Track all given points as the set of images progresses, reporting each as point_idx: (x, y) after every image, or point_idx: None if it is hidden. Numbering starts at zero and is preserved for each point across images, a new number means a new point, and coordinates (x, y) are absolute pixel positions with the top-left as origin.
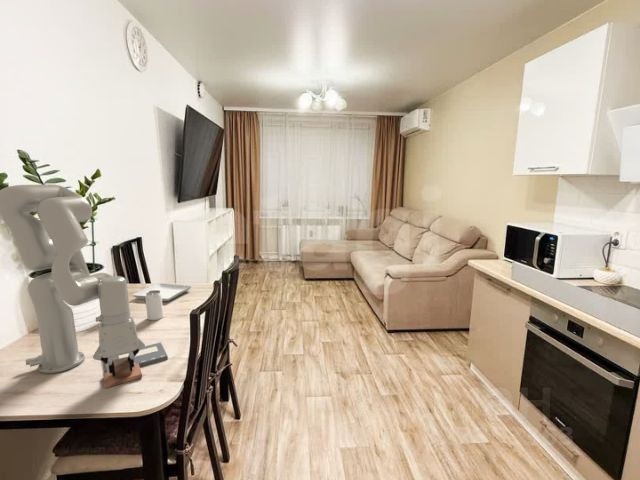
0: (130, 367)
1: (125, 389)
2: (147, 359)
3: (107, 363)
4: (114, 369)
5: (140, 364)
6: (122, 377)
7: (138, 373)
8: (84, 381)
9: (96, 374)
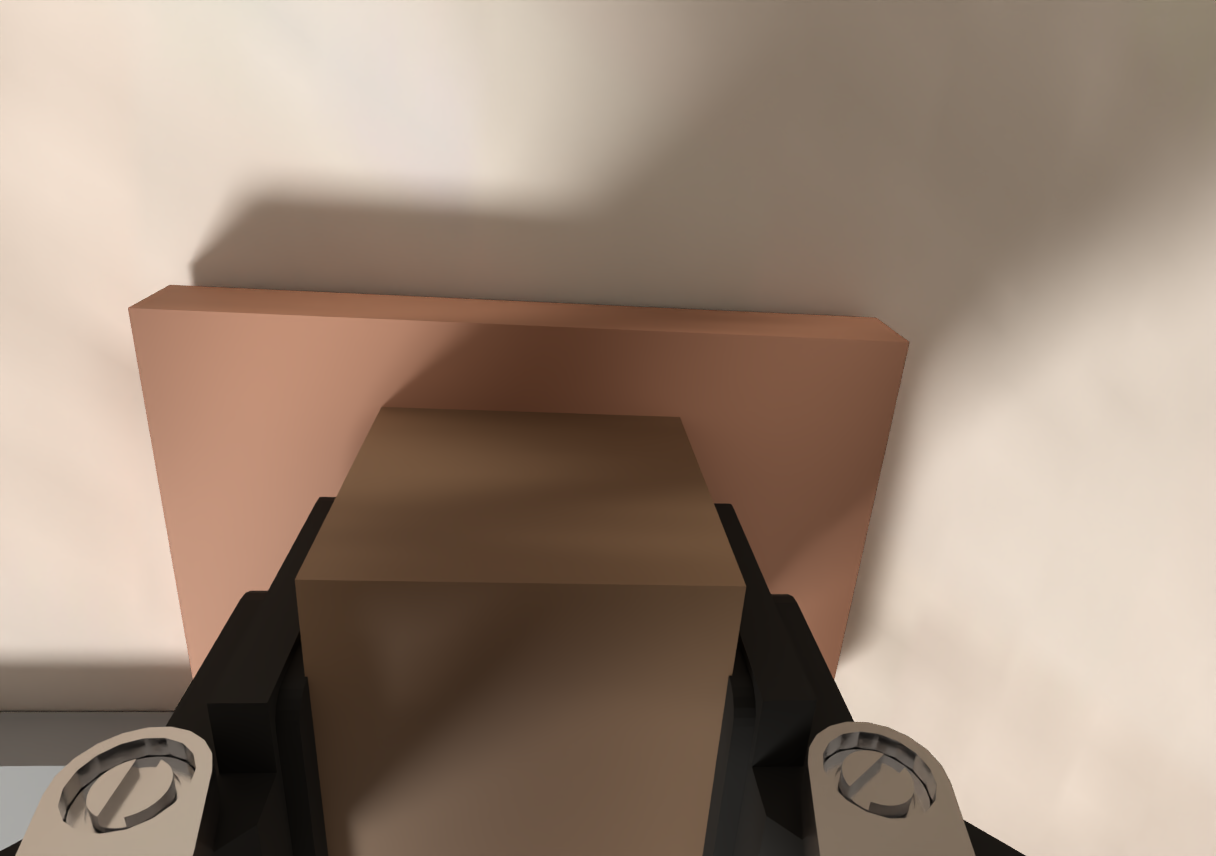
0: None
1: (548, 11)
2: None
3: (951, 791)
4: None
5: None
6: (550, 411)
7: (209, 376)
8: (1036, 727)
9: None
